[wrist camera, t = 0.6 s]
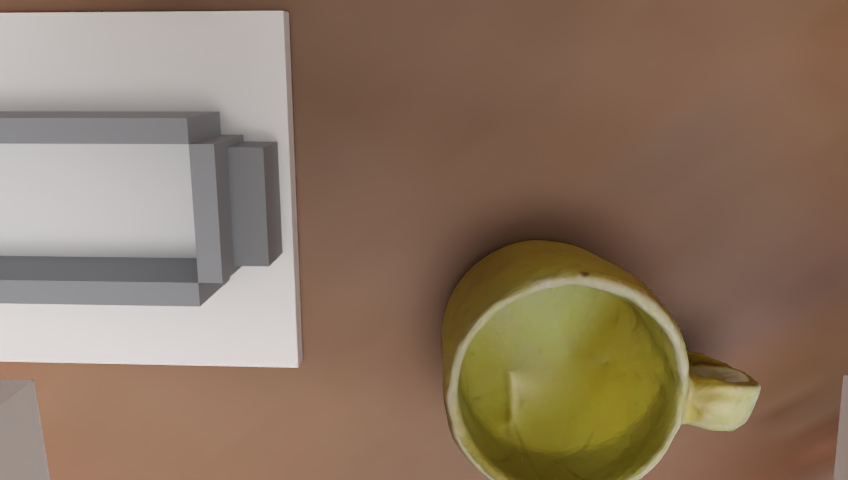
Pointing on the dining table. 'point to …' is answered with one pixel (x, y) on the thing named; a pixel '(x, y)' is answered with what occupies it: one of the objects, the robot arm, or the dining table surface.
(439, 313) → the dining table surface
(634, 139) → the dining table surface
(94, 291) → the white grey flat tray
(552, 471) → the mug
